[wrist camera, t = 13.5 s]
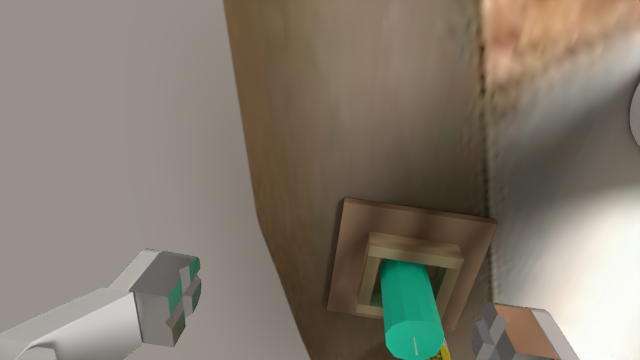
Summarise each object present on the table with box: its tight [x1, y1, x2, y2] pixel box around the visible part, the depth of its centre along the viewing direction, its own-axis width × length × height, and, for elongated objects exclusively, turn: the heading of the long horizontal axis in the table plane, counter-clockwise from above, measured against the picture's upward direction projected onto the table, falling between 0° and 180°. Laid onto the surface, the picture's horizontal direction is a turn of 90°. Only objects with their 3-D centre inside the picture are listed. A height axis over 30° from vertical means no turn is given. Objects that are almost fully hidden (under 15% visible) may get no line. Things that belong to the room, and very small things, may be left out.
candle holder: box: [327, 197, 498, 331], centre depth 43 cm, size 18×18×4 cm
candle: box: [380, 259, 444, 360], centre depth 39 cm, size 6×6×12 cm
